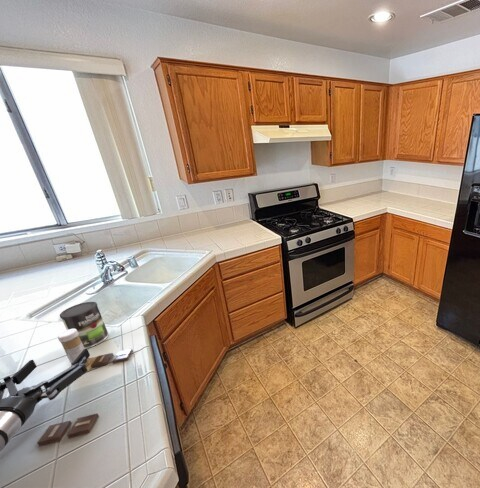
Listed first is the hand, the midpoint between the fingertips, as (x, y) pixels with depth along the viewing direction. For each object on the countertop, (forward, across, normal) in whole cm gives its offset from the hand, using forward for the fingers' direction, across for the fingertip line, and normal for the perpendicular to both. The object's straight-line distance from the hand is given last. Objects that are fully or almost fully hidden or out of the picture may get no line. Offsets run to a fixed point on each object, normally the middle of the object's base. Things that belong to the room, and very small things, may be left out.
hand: (60, 357), depth 80 cm
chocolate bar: (+6, +6, -9) cm, 12 cm away
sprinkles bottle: (+6, 0, -9) cm, 10 cm away
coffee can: (+21, -4, -9) cm, 23 cm away
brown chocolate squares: (-20, +10, -9) cm, 24 cm away
